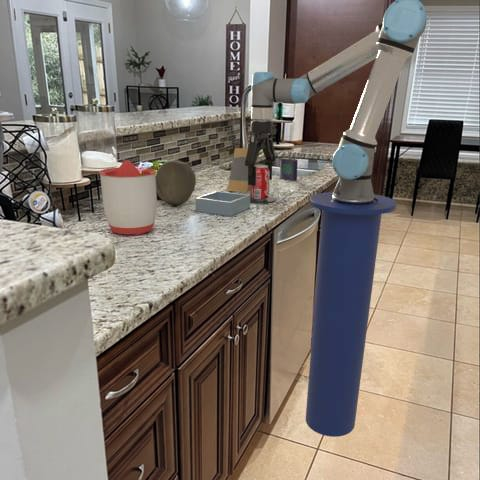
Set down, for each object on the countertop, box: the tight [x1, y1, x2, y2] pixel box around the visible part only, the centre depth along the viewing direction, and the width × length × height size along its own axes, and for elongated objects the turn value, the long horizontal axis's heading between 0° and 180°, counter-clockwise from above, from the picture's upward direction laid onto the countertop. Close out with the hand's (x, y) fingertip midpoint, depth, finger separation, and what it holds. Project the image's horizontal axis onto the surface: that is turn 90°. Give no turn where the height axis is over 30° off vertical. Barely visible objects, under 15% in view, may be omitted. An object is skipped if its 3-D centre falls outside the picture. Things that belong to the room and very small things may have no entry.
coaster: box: [250, 196, 275, 204], centre depth 186 cm, size 11×11×1 cm
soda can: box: [249, 164, 271, 201], centre depth 183 cm, size 7×7×12 cm
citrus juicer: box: [98, 159, 158, 236], centre depth 143 cm, size 16×17×20 cm
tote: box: [194, 190, 251, 217], centre depth 170 cm, size 14×14×4 cm
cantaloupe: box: [155, 160, 197, 207], centre depth 174 cm, size 14×14×15 cm
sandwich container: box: [226, 147, 250, 193], centre depth 203 cm, size 9×15×15 cm, turn 168°
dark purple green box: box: [279, 154, 299, 182], centre depth 225 cm, size 9×3×11 cm, turn 46°
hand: (260, 182), depth 183 cm, fingers open, 13 cm apart
